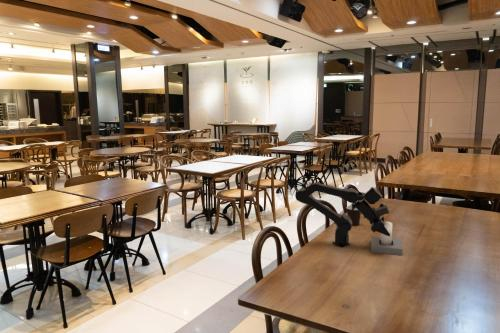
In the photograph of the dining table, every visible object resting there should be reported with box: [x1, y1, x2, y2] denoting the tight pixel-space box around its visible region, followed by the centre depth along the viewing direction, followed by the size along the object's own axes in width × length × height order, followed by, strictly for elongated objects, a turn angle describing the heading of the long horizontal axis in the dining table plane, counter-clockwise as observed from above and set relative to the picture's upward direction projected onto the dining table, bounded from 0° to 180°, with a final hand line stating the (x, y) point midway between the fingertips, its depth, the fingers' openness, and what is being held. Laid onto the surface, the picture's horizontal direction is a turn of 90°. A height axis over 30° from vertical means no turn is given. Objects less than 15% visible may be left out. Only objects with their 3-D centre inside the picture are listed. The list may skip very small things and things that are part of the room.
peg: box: [380, 220, 394, 245], centre depth 183 cm, size 5×5×12 cm
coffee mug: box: [345, 205, 362, 227], centre depth 222 cm, size 12×9×10 cm
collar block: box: [370, 236, 403, 256], centre depth 184 cm, size 14×14×3 cm
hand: (389, 233), depth 182 cm, fingers closed on peg, 5 cm apart
